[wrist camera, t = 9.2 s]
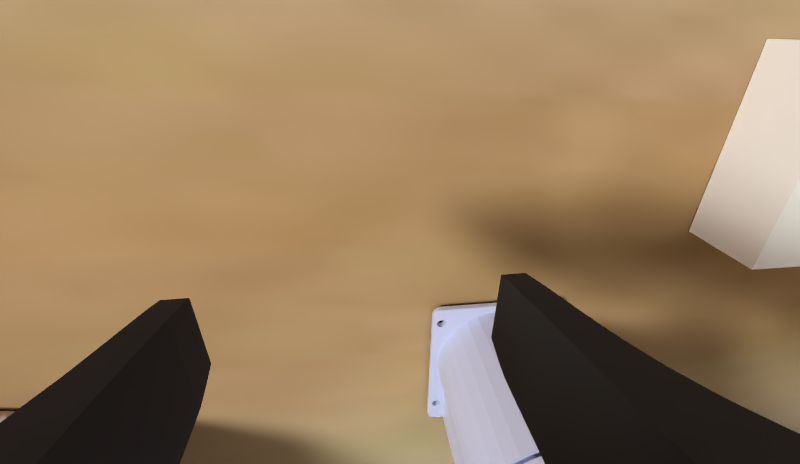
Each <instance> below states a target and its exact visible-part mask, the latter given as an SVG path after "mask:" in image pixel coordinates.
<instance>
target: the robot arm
mask: <svg viewBox="0 0 800 464" xmlns="http://www.w3.org/2000/svg"><path fill="white" fill-rule="evenodd" d="M441 320H443V322H441V323H438V322H439V321H441ZM210 366H211V362H210V359H209V356H208V353H207V350H206V347H205V344H204V341H203V338H202V335H201V332H200V329H199V326H198V323H197V320H196V317H195V314H194V311H193V308H192V305H191V302H190V299H189V298H184V299H171V300H160V301H158V302H157V303H156V304H154V305H153V306H151V307H150V308H149V309H147V310H146V311H145V312H143V313H142V314H141V315H140V316H138V317H137V318H136V319H135V320H133V321H132V322H131V323H129V324H128V325H127V326H126V327H124V328H123V329H122V330H121V331H119V332H118V333H117V334H116V335H114V336H113V337H112V338H111V339H109V340H108V341H107V342H106V343H104V344H103V345H102V346H101V347H99V348H98V349H97V350H96V351H94V352H93V353H92V354H91V355H89V356H88V357H87V358H85V359H84V360H83V361H82V362H80V363H79V364H78V365H77V366H75V367H74V368H73V369H72V370H70V371H69V372H68V373H66V374H65V375H64V376H63V377H61V378H60V379H58V380H57V381H56V382H54V383H53V384H52V385H50V386H49V387H48V388H46V389H45V390H44V391H42V392H41V393H40V394H38V395H37V396H36V397H34V398H33V399H31V400H30V401H29V402H27V403H26V404H25V405H23V406H22V407H21V408H19V409H18V410H17V411H15V412H14V413H13V414H11V415H10V416H9V417H7V418H6V419H4V420H3V421H2V422H0V464H179V463H180V461H181V458H182V456H183V453H184V450H185V448H186V445H187V443H188V440H189V437H190V435H191V432H192V429H193V427H194V424H195V421H196V418H197V416H198V413H199V410H200V407H201V404H202V400H203V396H204V392H205V388H206V384H207V379H208V375H209V370H210ZM427 411H428V415H429V416H431V417H441V416H443V419H444V423H445V427H446V431H447V435H448V439H449V444H450V448H451V452H452V456H453V460H454V464H800V434H798V433H796V432H794V431H792V430H790V429H788V428H786V427H783V426H781V425H779V424H777V423H775V422H773V421H771V420H769V419H767V418H765V417H763V416H760V415H758V414H756V413H754V412H752V411H750V410H748V409H746V408H744V407H742V406H740V405H738V404H736V403H734V402H732V401H730V400H728V399H726V398H724V397H722V396H720V395H718V394H716V393H714V392H712V391H711V390H709V389H707V388H705V387H703V386H701V385H700V384H698V383H696V382H694V381H692V380H690V379H689V378H687V377H685V376H683V375H681V374H679V373H678V372H676V371H674V370H672V369H671V368H669V367H667V366H665V365H664V364H662V363H660V362H658V361H657V360H655V359H654V358H652V357H650V356H649V355H647V354H645V353H644V352H642V351H641V350H639V349H637V348H636V347H634V346H632V345H631V344H629V343H628V342H626V341H624V340H623V339H621V338H620V337H618V336H617V335H615V334H614V333H612V332H611V331H609V330H608V329H606V328H605V327H603V326H602V325H600V324H599V323H597V322H596V321H594V320H593V319H591V318H590V317H588V316H587V315H585V314H584V313H583V312H581V311H580V310H578V309H577V308H575V307H574V306H572V305H571V304H570V303H568V302H567V301H565V300H564V299H563V298H561V297H560V296H558V295H557V294H555V293H554V292H553V291H551V290H550V289H548V288H547V287H546V286H544V285H543V284H541V283H540V282H538V281H537V280H535V279H534V278H532V277H531V276H529V275H528V274H526V273H521V274H507V275H501V280H500V286H499V292H498V298H497V303H484V304H471V305H458V306H444V307H438V308H436V309H435V310H434V311H433V313H432V328H431V346H430V365H429V383H428V401H427Z"/></svg>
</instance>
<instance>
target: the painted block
mask: <svg viewBox="0 0 800 464" xmlns="http://www.w3.org/2000/svg"><path fill="white" fill-rule="evenodd" d="M689 232H691V233H692V234H694V235H696V236H697V237H699V238H701V239H702V240H704V241H705V242H707V243H709V244H710V245H712V246H714V247H715V248H717V249H719V250H720V251H722V252H723V253H725V254H727V255H728V256H730V257H732V258H733V259H735V260H737V261H738V262H740V263H742V264H743V265H745V266H746V267H748V268H750V269H751V270H755V269H769V268H783V267H798V266H800V39H767V41H766V43H765V46H764V48H763V51H762V53H761V56H760V58H759V61H758V63H757V65H756V68H755V70H754V73H753V75H752V78H751V80H750V83H749V85H748V87H747V90H746V92H745V95H744V97H743V100H742V102H741V105H740V107H739V110H738V112H737V114H736V117H735V119H734V122H733V124H732V127H731V129H730V132H729V134H728V136H727V139H726V141H725V144H724V146H723V149H722V151H721V154H720V156H719V159H718V161H717V163H716V166H715V168H714V171H713V173H712V176H711V178H710V181H709V183H708V185H707V188H706V190H705V193H704V195H703V198H702V200H701V203H700V205H699V207H698V210H697V212H696V215H695V217H694V220H693V222H692V225H691V227H690V230H689Z"/></svg>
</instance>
